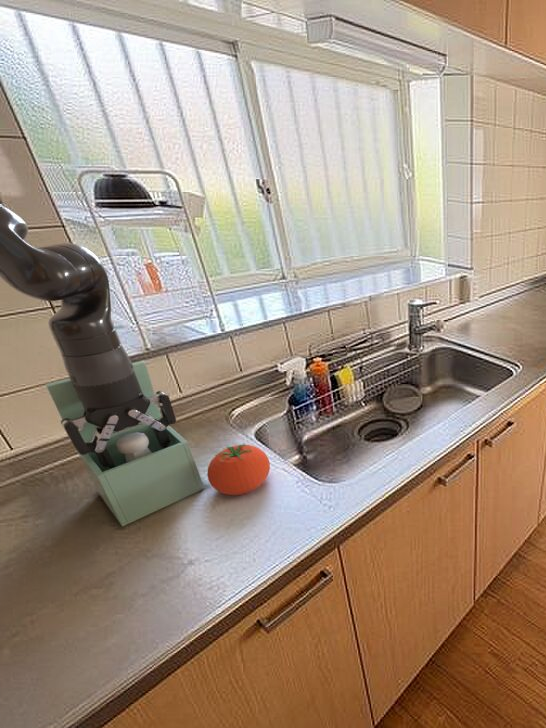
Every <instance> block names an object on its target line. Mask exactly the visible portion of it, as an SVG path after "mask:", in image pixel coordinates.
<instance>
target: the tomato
mask: <svg viewBox="0 0 546 728" xmlns="http://www.w3.org/2000/svg"><path fill="white" fill-rule="evenodd" d="M270 469H271V464H270V459H269V457H268V455H267V453H266V452H264V450H262V448H260V447H257V446H254V445H250V444H246V443H244V444H243V443H242V444H237V445H233V446H226V448H224V449H223V450H221V451H220V452H218V453H217V454H215V455H214V457H213V458H212V459H211V461H210V462H209V464H208V467H207V473H206V475H207V480H208V482H209V484H210V485H211V487H212V488H213V489H214V490H215V491H217V492H219V493H221V494H224V495H228V496H240V495H245V494H248V493H250V492H253V491H254V490H256V489H258V488H259V487H260V486H261V485H262V484H263V483H264V482H265V481H266V479H267V478H268V476H269V473H270Z"/></svg>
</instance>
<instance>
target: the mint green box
mask: <svg viewBox="0 0 546 728" xmlns="http://www.w3.org/2000/svg"><path fill="white" fill-rule="evenodd" d="M160 419H161V418H158V419H157V420H160ZM166 431H167V433H168V436H169V439H170V443H169V444H167V445H168V447H167V448H164V449H163V448H162V447H161V446H160V444H159V442H158V440H157V437H156V435H155V432H154V430H153V427H151V426H148V425H147V424H145V423H142V424H139V425H136V426H133V427H130V428H127V429H124V430H121V431H118V432H115V433H112V435H111V438H110V440H108V442H107V445H106V447H105V448H106V449H107V450H108V452H109V454H110V456H111V458H112V460H113V463H114V465H115V467H114V468H112V469H110V468H109V467H104V466H102V465H101V463H100V462H99V460H98V458H97V456H96V454H95V453H93V452H91V453H87V454H85V455H81V454H79V452H78V451H77V453H78V454H79V457H80V459H81V461H82V463H83V465H84V467H85V469H86V471H87V472H88V475H89V477H90V479H91V480H92V482H93V484H94V486H95V488H96V490H97V492H98V494H99V496H100V498H101V499H102V500H103V501H104V503H105V504H106V506H107V507H108V508H109V510H110V511H111V513H112V514H113V516H114V517H115V518H116V520H117V521H118V522H119V525H120V526H121V527H124V526H127V525H128V524H131V523H133V522H136V521H137V520H140V519H142V518H144V517H146V516H149V515H151V514H152V513H154V512H157V511H159V510H162V509H163V508H166V507H167V506H170V505H172V504H174V503H176V502H179V501H180V500H182V499H184V498H187V497H189V496H191V495H193V494H195V493H197V492H198V493H199V492H200V491H202V490H204V489H205V486H204V483H203V480H202V478H201V475H200V471H199V470H198V466H197V464H196V461H195V458H194V456H193V453H192V450H191V447H190V445H189V442H188V441H187V440H186V439H185V438H184V437H183V436H182V435H181V434H179V433H178V432H177V431H176V430H175V429H174V428H173V427H171V426H170V425H169V426H167V428H166ZM136 432H138V433H143V434H145V435H146V436H147V437H148V439H149V444H148V446H147V447H148V449H149V450H150V451H151V453H152V454H149V455H146V456H144V457H141V458H138V459H136V460H133V461H131V462H128V463H126V457H125V454H123V453H120V452H119V451H118V449H117V447H116V442H117V440H118V439H119V438H120V437H122V436H124V435H126V434H130V433H136ZM90 442H91V441H88V443H90Z"/></svg>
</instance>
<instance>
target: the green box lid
mask: <svg viewBox="0 0 546 728" xmlns="http://www.w3.org/2000/svg"><path fill="white" fill-rule="evenodd" d="M131 363H132V364H133V369H134V372H135V375H136V377H137V380H138V382H139V385H140V387H141V390H142V392H143V394H144V396H146V397H148V396H152V395H155V394H156V393H155V391H154V387H153V384H152V380H151V377H150V373H149V371H148V367H147V363H146V361H144V360H140V361H135V362H131ZM44 385H45V387H46V390H47V391H48V394H49V395H50V397H51V400H52V402H53V404H54V406H55V408H56V410H57V413H58V414H59V416H60V419H61V421H62V420H63V419H65V418H69V419H74V418H77V417H80V416H83V414H84V407H83V405H82V402H81V400H80V398H79V396H78V394H77V392H76V390H75V388H74V386H73V383H72V381H71V380H70V377H69V378H65V379H61V380H56V381H53V382H48V383H45V384H44ZM146 413H147V414H149V415H150V416H152V417H153V418H155V419H157V420H158V419H161V418H162V413H161V410H160V406H156V405H155V404H154V403H150V405H149V407H148V409H147V412H146ZM138 424H139V425H143V424H144V423H143V422H140V423H138ZM95 428H96V426H95V425H93V424H90V423H88V422H86V423H85V424H84V429H83V430H82V431H80V432H79V433H80V434H81V436H82V438H83V440H84V442H85V443H89V442H92V439H93V437H94V431H95ZM131 428H134V426H132V427H127V428H125V429H123V430H122V431H125V430H128V429H131ZM116 433H117V432H116V431H113V433H112V434H116Z"/></svg>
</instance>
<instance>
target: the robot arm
mask: <svg viewBox="0 0 546 728" xmlns="http://www.w3.org/2000/svg"><path fill="white" fill-rule="evenodd" d="M28 234H29V227H28V225H27V223H26V221H24V219H23V218H22V217H21V216H19V215H18V214H17V213H16V212H13V210H11V209H9V208H8V207H6V206H5V205H3V204H2V203H0V279H2V280H3V282H4V283H6V284H7V285H8V286H9V287H10V288H12V289H14V291H17V292H19V293H20V294H22V295H25V296H27V297H29V298H33V299H35V300H38V301H42V302H43V301H44V302H57V301H60V302H61V303H60V304H61V305H60V308H59V309H58V310H57V311H56V312H55V313H54V314H53V315H52V316H50V317H49V319H48V328H49V331H50V333H51V335H52V338H53V340H54V342H55V344H56V347H57V348H58V351H59V353H60V355H61V357H62V361H63V365H64V368H65V371H66V373H67V375H68V377H69V378H70V380H71V381H72V383H73V386H74V388H75V390H76V392H77V394H78V396H79V398H80V400H81V402H82V405H83V407H84V414H83V416H80V417H77V418H74V419H69V418H65V419H63V420H62V419H61V420H60V424H61V426H62V428H63V429H64V431H65V433H66V435H67V436H68V438H69V439H70V441H71V443H72V445H73V447H74V448H75V450H76V451H77V453H78V452H79V453H78V454H81V455H85V454H87V453H91V452H93V453H95V454H96V456H97V458H98V460H99V462H100V463H101V465H102V466H104V467H109V468H110V469H112V468H114V467H115V465H114V463H113V460H112V458H111V456H110V454H109V452H108V450H107V449H106V448H105V447H106V445H107V442H108V440H110V438H111V435H113V434H114V433H113V431H116V432H115V433H119V432H122V431H124V430H126V429H125V428H127V427H130V428H133V427H137V426H140V424H138V423H140V422H143V423H142V424H147V425H148V426H151V427H153V430H154V432H155V435H156V437H157V440H158V442H159V444H160V446H161V447H162V448H163V449H164V448H167V447H168V445H167V444H169V443H170V439H169V436H168V433H167V431H166V428H167V426H170V425H174V424H175V423H176V422H177V418H176V415H175V412H174V409H173V406H172V402H171V399H170V396H169V395H168V394H167V393H165V392H164V391H162V390H158V391H156V392H155V393H154V394H155V395H152V396H148V397H146V396H144V394H143V392H142V390H141V387H140V385H139V382H138V380H137V377H136V375H135V372H134V369H133V364H132V363H133V362H132V361H131V360H130V356H129V355H128V352H127V351H126V350H125V348H124V346H123V343H122V342H121V339H120V337H119V334H118V332H117V329H116V327H115V325H114V322H113V319H112V300H111V288H110V287H111V286H110V280H109V276H108V272H107V270H106V268H105V266H104V264H103V262H102V261H101V260H100V259H99V257H98V256H97V255H96V254H95V253H94V252H92V251H91V250H89V249H88V248H86V247H84V246H82V245H79V244H76V243H70V242H67V243H66V242H63V243H56V244H52V245H46V246H41V247H35V246H33V245H31V244H29V243H28V242H27V241H25V240H26V239H27V236H28ZM150 403H154V404H155V405H156V406H158V407H159V410H160V413H161V416H162V417H161V418H159V419H160V420H158V419H155V418H153V417H152V416H150V415H149V414H147V413H146V412H147V409H148V407H149V405H150ZM86 422H88V423H90V424H93V425H95V426H96V428H95V431H94V437H93V439H92V440H91V441H89V442H90V443H89V442H84V440H83V438H82V436H81V434H80V433H79V432H80V431H82V430H83V429H84V424H85V423H86ZM132 426H133V427H132ZM123 429H124V430H123ZM127 429H128V428H127Z"/></svg>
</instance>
